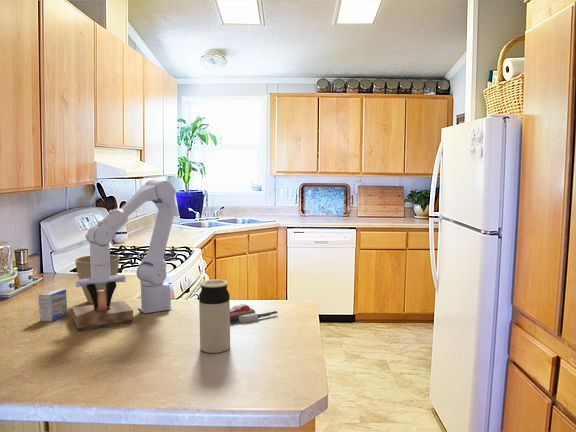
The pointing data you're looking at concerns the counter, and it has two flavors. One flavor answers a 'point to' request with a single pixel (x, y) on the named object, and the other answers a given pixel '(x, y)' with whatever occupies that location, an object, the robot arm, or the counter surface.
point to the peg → (101, 300)
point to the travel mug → (214, 316)
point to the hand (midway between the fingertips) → (102, 306)
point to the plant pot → (85, 272)
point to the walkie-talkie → (245, 314)
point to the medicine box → (52, 305)
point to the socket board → (102, 316)
